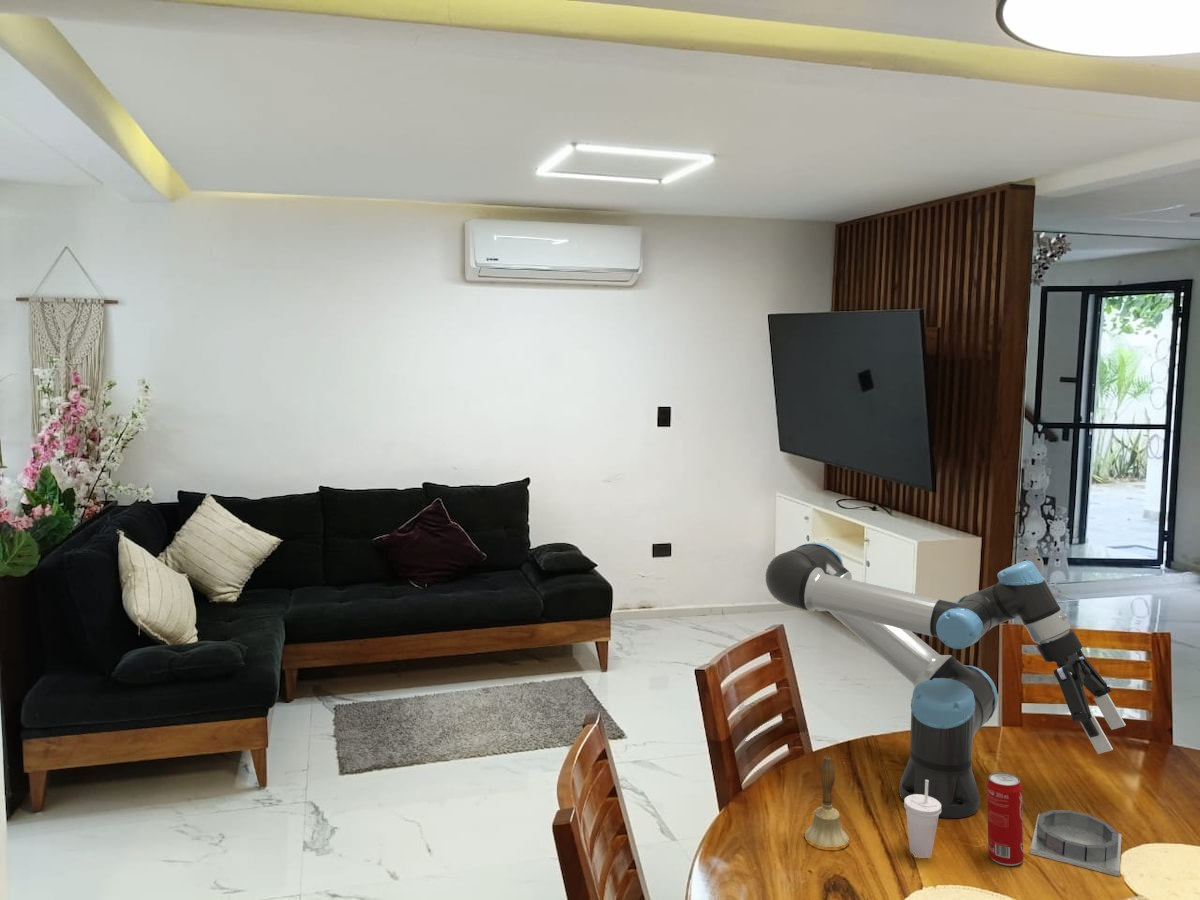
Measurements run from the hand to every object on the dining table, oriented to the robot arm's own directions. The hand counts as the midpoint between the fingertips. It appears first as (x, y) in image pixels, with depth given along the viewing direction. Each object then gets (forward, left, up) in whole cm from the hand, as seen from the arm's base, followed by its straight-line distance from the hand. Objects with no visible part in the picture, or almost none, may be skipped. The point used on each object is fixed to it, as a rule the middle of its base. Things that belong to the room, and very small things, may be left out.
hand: (1112, 739), depth 174 cm
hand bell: (-44, -36, -16) cm, 59 cm away
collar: (-4, -15, -16) cm, 22 cm away
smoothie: (-28, -32, -16) cm, 45 cm away
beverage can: (-15, -26, -16) cm, 34 cm away
